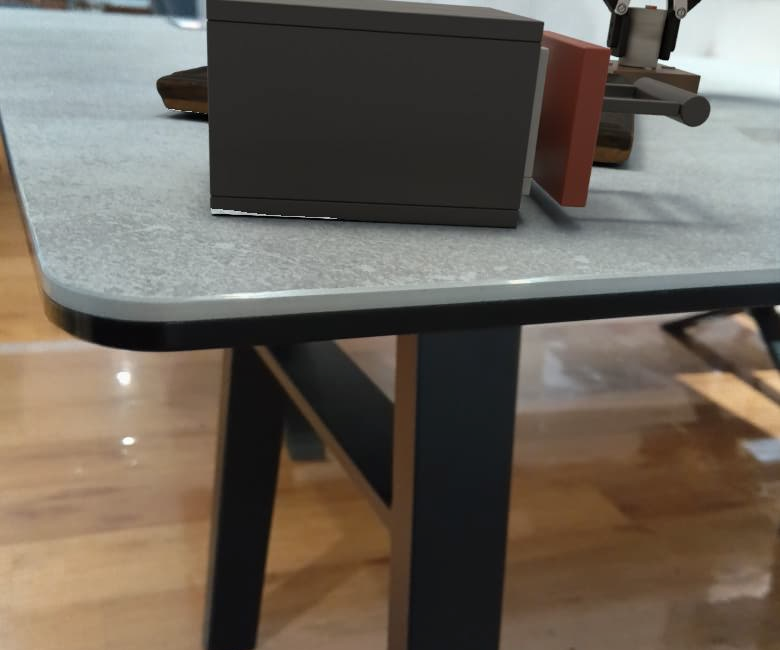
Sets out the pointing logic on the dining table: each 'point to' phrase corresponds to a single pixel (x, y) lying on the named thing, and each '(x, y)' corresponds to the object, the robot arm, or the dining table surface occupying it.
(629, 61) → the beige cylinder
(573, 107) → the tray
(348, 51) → the dark grey lidded box
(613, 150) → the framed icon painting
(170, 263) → the dining table surface
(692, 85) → the panel
